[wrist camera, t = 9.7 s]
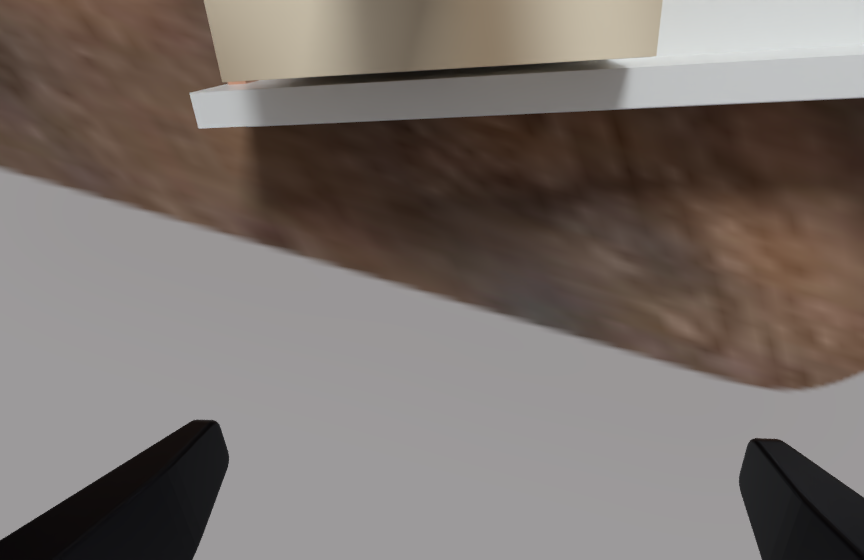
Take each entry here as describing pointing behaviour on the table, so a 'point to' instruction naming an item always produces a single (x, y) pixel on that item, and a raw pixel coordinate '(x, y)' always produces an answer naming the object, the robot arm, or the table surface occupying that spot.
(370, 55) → the beige knobbed block
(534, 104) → the bay
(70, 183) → the table surface
